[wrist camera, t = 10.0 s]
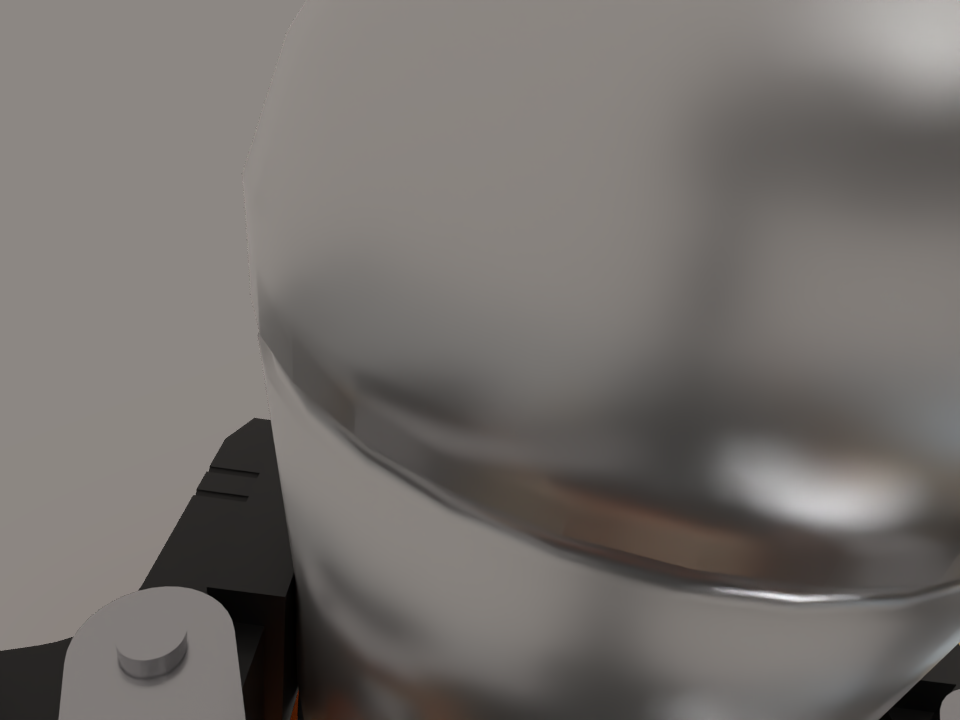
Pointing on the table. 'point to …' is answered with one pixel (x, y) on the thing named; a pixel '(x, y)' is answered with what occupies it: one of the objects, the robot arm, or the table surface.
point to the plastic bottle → (614, 354)
